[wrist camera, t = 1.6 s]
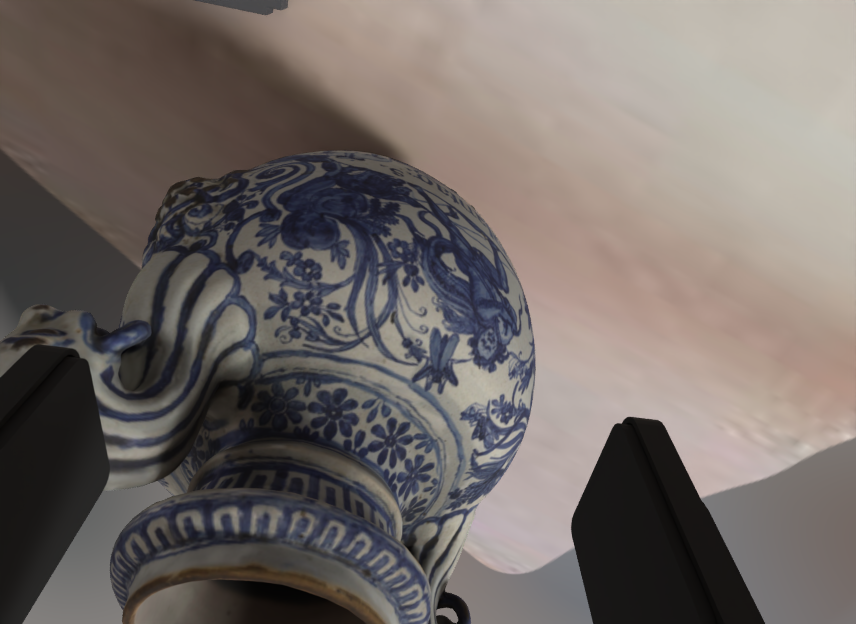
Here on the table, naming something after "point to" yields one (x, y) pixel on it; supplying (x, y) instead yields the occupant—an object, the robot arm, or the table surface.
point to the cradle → (251, 5)
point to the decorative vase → (305, 393)
